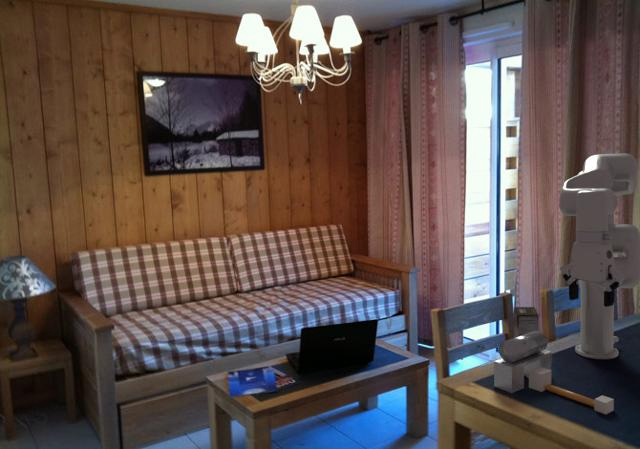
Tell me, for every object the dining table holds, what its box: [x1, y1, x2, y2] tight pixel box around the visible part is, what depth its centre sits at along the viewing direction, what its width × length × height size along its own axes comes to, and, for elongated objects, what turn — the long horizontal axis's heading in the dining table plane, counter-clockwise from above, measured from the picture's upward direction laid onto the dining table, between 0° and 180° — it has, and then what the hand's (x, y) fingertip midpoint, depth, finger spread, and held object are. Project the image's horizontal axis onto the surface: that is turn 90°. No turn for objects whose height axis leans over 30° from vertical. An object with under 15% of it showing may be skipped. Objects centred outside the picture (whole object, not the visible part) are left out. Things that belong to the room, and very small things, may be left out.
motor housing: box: [493, 330, 552, 394], centre depth 162 cm, size 18×6×14 cm, turn 124°
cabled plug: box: [526, 366, 615, 415], centre depth 152 cm, size 4×24×5 cm, turn 34°
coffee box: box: [513, 306, 539, 338], centre depth 179 cm, size 9×6×16 cm
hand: (590, 302), depth 148 cm, fingers open, 9 cm apart
